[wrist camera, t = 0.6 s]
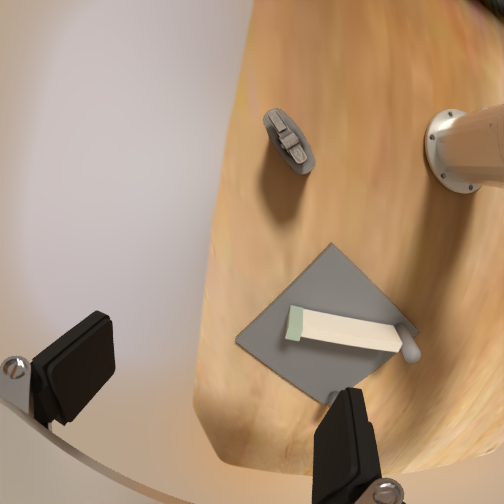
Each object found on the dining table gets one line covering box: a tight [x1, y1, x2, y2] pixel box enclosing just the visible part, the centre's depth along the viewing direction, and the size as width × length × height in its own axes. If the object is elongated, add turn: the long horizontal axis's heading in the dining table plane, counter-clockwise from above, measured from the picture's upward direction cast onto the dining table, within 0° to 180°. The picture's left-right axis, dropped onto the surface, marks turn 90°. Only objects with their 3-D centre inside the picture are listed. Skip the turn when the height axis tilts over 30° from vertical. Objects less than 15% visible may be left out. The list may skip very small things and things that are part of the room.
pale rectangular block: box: [285, 305, 403, 352], centre depth 35 cm, size 16×2×6 cm, turn 80°
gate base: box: [235, 242, 421, 409], centre depth 37 cm, size 21×21×9 cm
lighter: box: [263, 109, 315, 175], centre depth 30 cm, size 8×3×10 cm, turn 32°
